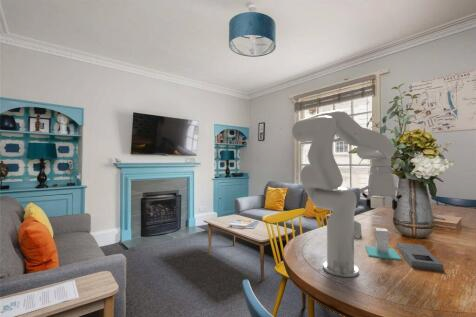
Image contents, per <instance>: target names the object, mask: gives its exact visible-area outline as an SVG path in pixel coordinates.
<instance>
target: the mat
mask: <svg viewBox="0 0 476 317" xmlns="http://www.w3.org/2000/svg"><path fill="white" fill-rule="evenodd" d="M364 248H365V250H366V253H367V255H368V257H370V258H379V259H380V258H381V259H388V260H397V261H402V257H401V256H400V255H399V253H398V252H397V251H396V250H395V248H390V247H389V254H382V253H377V252H376V250H375V246H372V245H364Z"/></svg>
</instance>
